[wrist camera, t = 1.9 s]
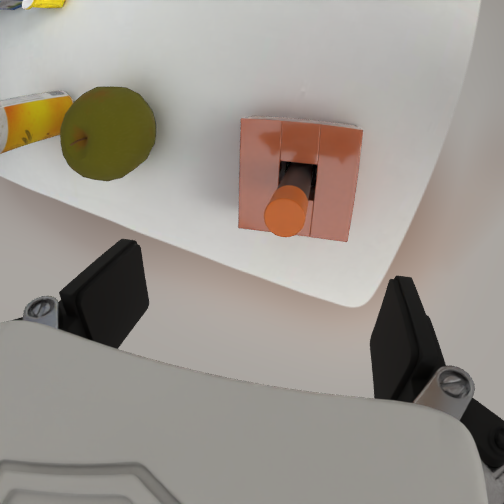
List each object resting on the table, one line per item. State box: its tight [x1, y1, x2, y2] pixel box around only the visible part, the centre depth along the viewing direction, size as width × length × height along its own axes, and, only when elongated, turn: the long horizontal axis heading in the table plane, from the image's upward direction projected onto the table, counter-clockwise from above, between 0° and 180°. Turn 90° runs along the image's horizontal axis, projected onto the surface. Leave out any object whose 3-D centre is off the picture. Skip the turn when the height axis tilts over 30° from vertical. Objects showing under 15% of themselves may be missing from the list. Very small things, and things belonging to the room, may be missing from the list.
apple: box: [60, 87, 156, 181], centre depth 27 cm, size 10×10×11 cm
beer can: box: [0, 91, 74, 154], centre depth 26 cm, size 6×6×15 cm
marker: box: [264, 162, 313, 237], centre depth 25 cm, size 2×2×14 cm
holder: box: [238, 116, 363, 242], centre depth 28 cm, size 10×10×5 cm
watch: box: [22, 0, 65, 9], centre depth 23 cm, size 6×3×6 cm, turn 69°
